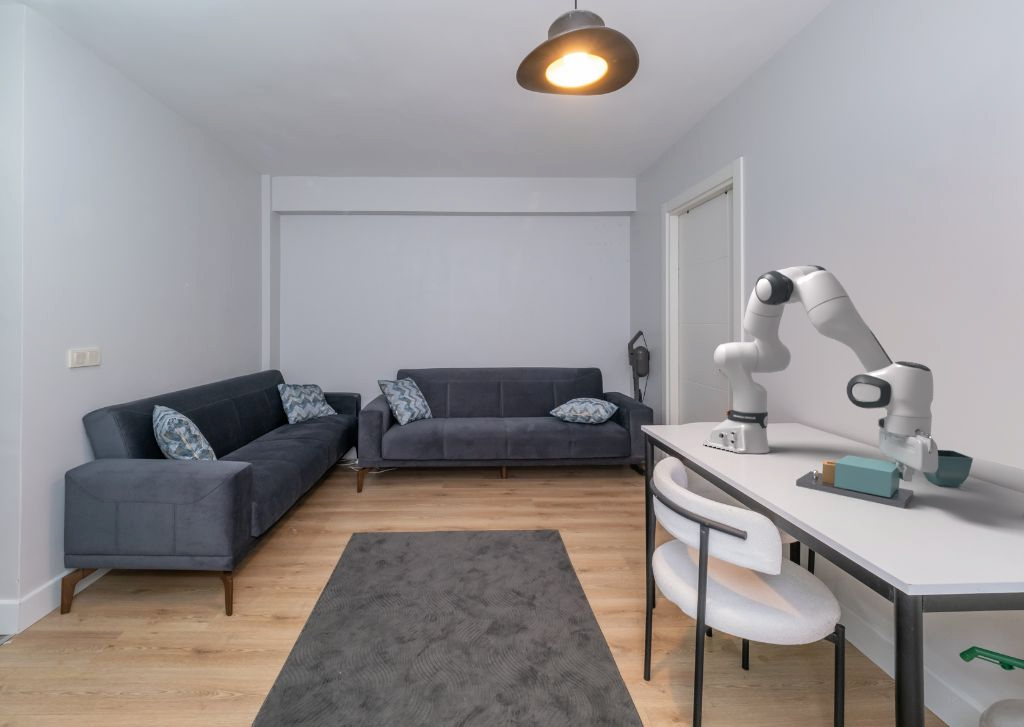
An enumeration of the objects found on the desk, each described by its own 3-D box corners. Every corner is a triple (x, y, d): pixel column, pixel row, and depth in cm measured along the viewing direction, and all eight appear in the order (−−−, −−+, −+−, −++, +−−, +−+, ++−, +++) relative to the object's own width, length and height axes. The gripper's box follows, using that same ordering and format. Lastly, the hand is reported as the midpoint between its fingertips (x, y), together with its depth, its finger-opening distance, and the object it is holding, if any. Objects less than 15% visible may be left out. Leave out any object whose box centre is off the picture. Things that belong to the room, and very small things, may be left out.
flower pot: (972, 490, 135) (974, 457, 134) (935, 488, 137) (937, 456, 136) (950, 480, 144) (952, 450, 143) (916, 478, 145) (917, 448, 145)
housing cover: (834, 486, 132) (835, 462, 131) (846, 477, 140) (847, 455, 140) (890, 497, 123) (891, 472, 123) (899, 487, 131) (900, 463, 131)
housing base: (796, 485, 138) (796, 464, 138) (810, 476, 147) (811, 456, 147) (904, 508, 121) (905, 484, 120) (913, 496, 130) (914, 473, 129)
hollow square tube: (821, 481, 137) (822, 463, 137) (822, 477, 141) (823, 460, 140) (841, 484, 134) (842, 466, 134) (841, 480, 138) (842, 462, 138)
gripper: (949, 435, 114) (945, 494, 115) (901, 419, 134) (897, 469, 135) (917, 434, 115) (913, 492, 116) (874, 418, 135) (871, 468, 136)
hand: (904, 480), depth 126 cm, fingers closed
